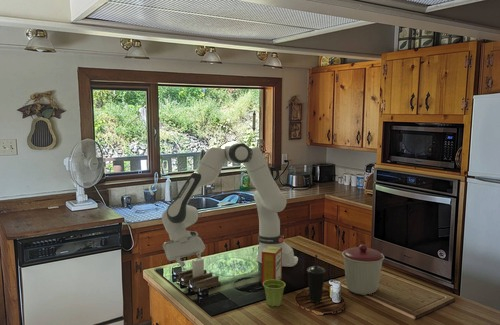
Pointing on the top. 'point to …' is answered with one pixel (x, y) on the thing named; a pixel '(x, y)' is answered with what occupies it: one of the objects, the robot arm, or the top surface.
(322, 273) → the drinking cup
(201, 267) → the clay tile
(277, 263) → the baking soda box
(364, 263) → the canister
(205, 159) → the robot arm
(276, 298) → the plant pot
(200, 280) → the rack
